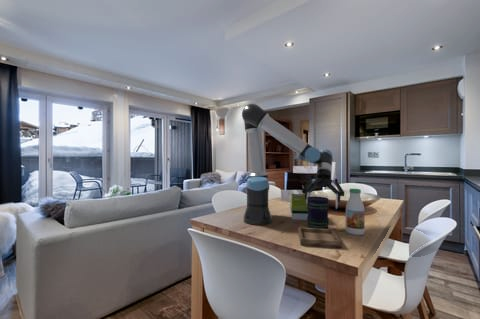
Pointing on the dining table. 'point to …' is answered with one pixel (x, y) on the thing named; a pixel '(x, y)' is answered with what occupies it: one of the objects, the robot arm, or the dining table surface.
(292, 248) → the dining table surface
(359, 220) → the milk bottle
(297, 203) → the tea box
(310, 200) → the storage jar
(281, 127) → the robot arm
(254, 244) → the dining table surface
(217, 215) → the dining table surface
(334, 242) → the tray
